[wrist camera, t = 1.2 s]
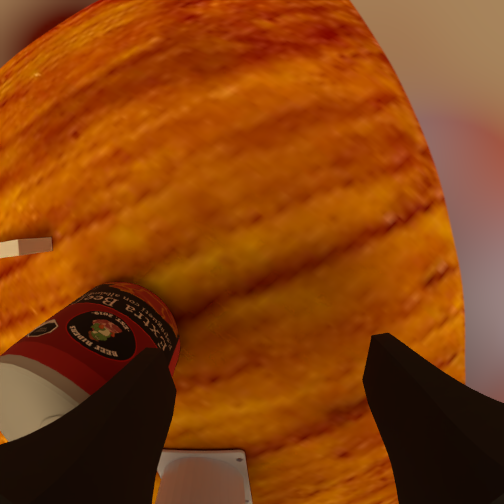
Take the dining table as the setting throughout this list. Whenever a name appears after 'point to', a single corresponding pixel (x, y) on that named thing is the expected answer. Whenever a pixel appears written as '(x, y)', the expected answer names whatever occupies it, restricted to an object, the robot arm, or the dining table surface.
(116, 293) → the canned food
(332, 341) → the dining table surface
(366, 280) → the dining table surface
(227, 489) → the robot arm
